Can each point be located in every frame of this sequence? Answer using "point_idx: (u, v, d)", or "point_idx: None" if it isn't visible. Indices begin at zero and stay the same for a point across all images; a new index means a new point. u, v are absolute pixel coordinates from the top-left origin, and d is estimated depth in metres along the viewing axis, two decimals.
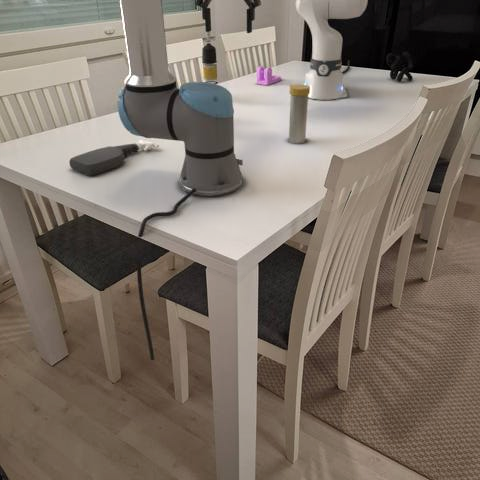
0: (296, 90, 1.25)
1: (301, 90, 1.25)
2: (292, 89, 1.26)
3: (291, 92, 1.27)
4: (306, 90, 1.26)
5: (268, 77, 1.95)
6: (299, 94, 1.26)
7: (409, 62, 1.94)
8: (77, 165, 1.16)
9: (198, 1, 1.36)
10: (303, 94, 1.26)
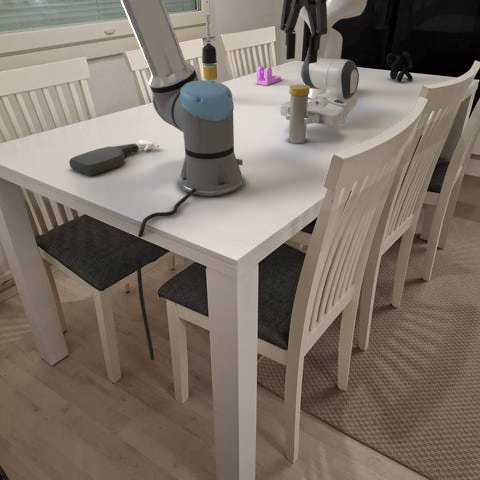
0: (296, 90, 1.25)
1: (301, 90, 1.25)
2: (292, 89, 1.26)
3: (291, 92, 1.27)
4: (306, 90, 1.26)
5: (268, 77, 1.95)
6: (299, 94, 1.26)
7: (409, 62, 1.94)
8: (77, 165, 1.16)
9: None
10: (303, 94, 1.26)
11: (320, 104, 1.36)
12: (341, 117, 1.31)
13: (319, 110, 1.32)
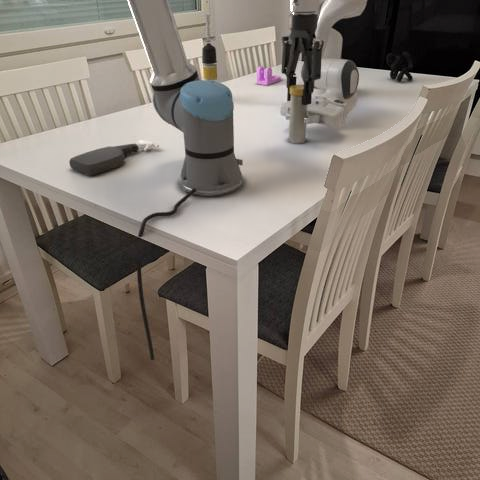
0: (296, 90, 1.25)
1: (301, 90, 1.25)
2: (292, 89, 1.26)
3: (291, 92, 1.27)
4: None
5: (268, 77, 1.95)
6: (299, 94, 1.26)
7: (409, 62, 1.94)
8: (77, 165, 1.16)
9: None
10: None
11: (320, 104, 1.36)
12: (341, 117, 1.31)
13: (319, 110, 1.32)
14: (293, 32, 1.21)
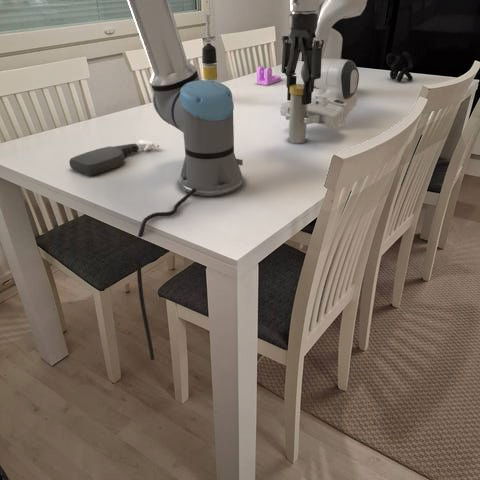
0: None
1: None
2: (302, 89, 1.25)
3: (301, 93, 1.25)
4: None
5: (268, 77, 1.95)
6: None
7: (409, 62, 1.94)
8: (77, 165, 1.16)
9: None
10: None
11: (320, 104, 1.36)
12: (341, 117, 1.31)
13: (319, 110, 1.32)
14: (293, 31, 1.21)
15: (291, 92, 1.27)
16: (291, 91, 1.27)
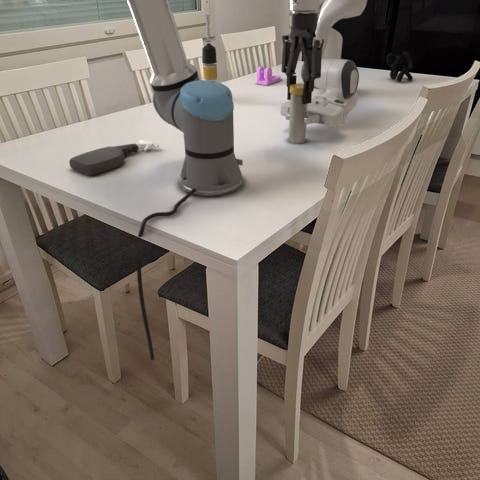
0: None
1: None
2: None
3: None
4: None
5: (268, 77, 1.95)
6: None
7: (409, 62, 1.94)
8: (77, 165, 1.16)
9: None
10: None
11: (320, 104, 1.36)
12: (341, 117, 1.31)
13: (319, 110, 1.32)
14: (293, 31, 1.21)
15: (301, 93, 1.25)
16: (301, 92, 1.25)
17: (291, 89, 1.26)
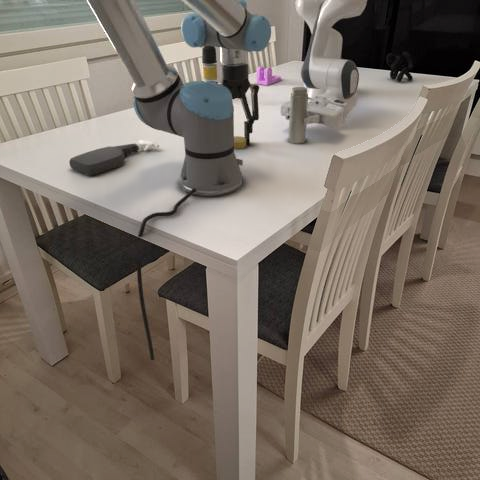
0: None
1: None
2: None
3: None
4: None
5: (268, 77, 1.95)
6: None
7: (409, 62, 1.94)
8: (77, 165, 1.16)
9: None
10: None
11: (320, 104, 1.36)
12: (341, 117, 1.31)
13: (319, 110, 1.32)
14: (227, 83, 1.22)
15: (245, 144, 1.32)
16: (245, 143, 1.32)
17: (237, 144, 1.30)
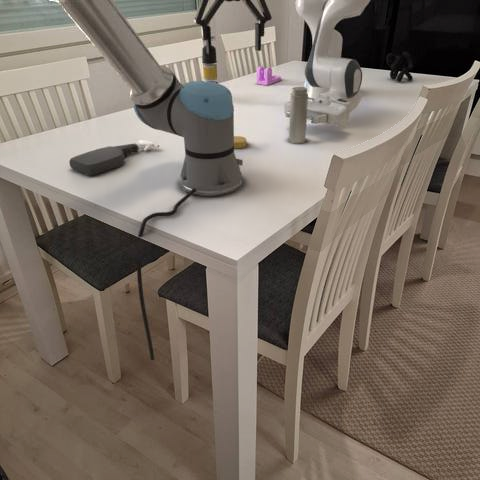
0: None
1: None
2: None
3: None
4: None
5: (268, 77, 1.95)
6: None
7: (409, 62, 1.94)
8: (77, 165, 1.16)
9: None
10: None
11: (323, 103, 1.38)
12: (344, 116, 1.33)
13: (322, 109, 1.34)
14: None
15: (245, 144, 1.32)
16: (245, 143, 1.32)
17: (237, 144, 1.30)
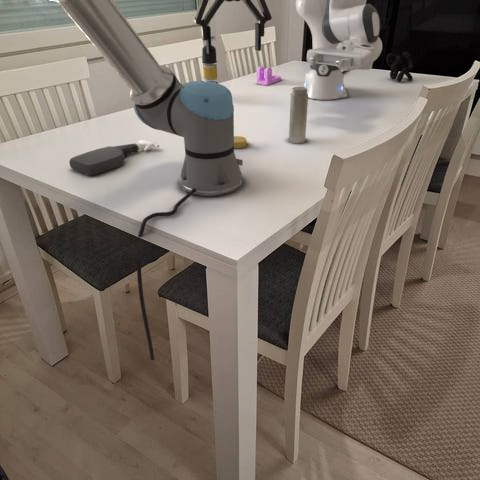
0: None
1: None
2: None
3: None
4: None
5: (268, 77, 1.95)
6: None
7: (409, 62, 1.94)
8: (77, 165, 1.16)
9: None
10: None
11: (347, 49, 1.36)
12: (369, 60, 1.32)
13: (346, 53, 1.33)
14: None
15: (245, 144, 1.32)
16: (245, 143, 1.32)
17: (237, 144, 1.30)
